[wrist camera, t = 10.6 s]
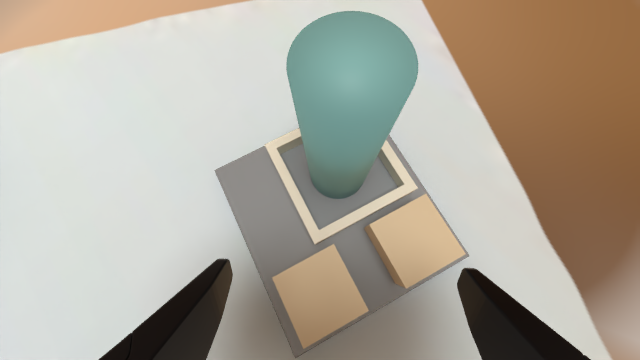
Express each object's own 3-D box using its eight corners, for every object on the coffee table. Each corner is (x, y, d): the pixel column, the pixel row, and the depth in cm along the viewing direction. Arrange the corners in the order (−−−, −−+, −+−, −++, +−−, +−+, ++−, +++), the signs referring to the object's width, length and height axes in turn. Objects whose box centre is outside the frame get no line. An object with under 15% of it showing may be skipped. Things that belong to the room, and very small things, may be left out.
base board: (297, 351, 20) (289, 376, 16) (219, 174, 25) (198, 158, 21) (462, 255, 22) (492, 256, 18) (362, 103, 26) (369, 77, 22)
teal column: (326, 208, 22) (324, 144, 9) (300, 161, 24) (265, 41, 10) (375, 182, 23) (445, 84, 9) (348, 137, 24) (374, -6, 11)
